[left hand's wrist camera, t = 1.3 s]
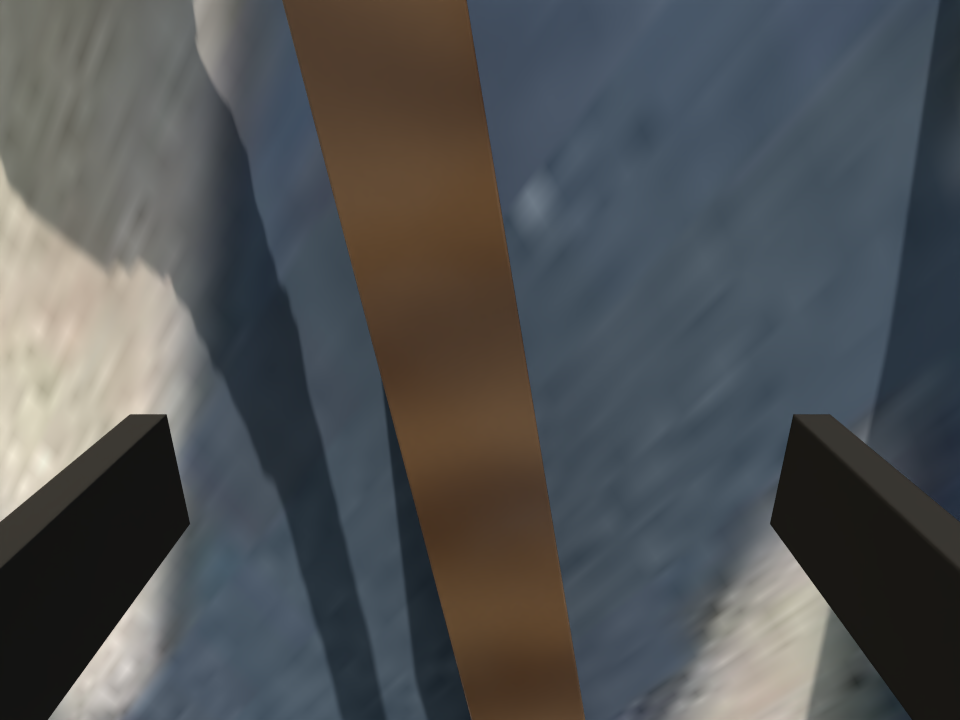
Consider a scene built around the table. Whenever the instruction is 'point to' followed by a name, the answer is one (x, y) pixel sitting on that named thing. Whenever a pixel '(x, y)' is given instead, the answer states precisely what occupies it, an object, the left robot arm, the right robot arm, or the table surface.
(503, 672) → the bar
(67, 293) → the table surface
